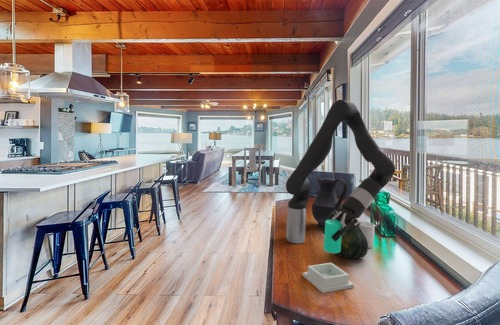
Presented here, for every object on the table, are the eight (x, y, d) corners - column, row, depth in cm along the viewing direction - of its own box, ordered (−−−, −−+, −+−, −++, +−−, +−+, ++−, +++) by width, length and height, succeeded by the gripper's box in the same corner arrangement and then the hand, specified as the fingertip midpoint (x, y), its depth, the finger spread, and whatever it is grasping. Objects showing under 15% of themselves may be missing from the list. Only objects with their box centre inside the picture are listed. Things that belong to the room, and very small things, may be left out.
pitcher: (322, 221, 185) (325, 174, 182) (352, 230, 169) (355, 179, 167) (305, 225, 174) (307, 176, 171) (334, 235, 158) (338, 181, 156)
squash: (321, 241, 133) (343, 222, 124) (340, 236, 142) (361, 218, 134) (340, 269, 125) (364, 251, 117) (358, 262, 135) (381, 245, 127)
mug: (373, 250, 139) (375, 227, 138) (354, 247, 142) (355, 224, 141) (372, 242, 150) (373, 221, 149) (354, 239, 153) (355, 218, 152)
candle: (327, 245, 110) (329, 214, 109) (343, 249, 106) (345, 217, 105) (320, 250, 105) (322, 217, 104) (336, 254, 101) (338, 221, 100)
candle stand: (302, 275, 110) (303, 264, 109) (331, 271, 114) (331, 260, 114) (322, 293, 98) (323, 281, 97) (353, 287, 102) (354, 275, 102)
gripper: (339, 192, 113) (311, 224, 110) (366, 200, 100) (335, 237, 97) (349, 204, 116) (322, 236, 112) (377, 214, 102) (347, 250, 99)
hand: (328, 236), depth 104 cm, fingers closed on candle, 5 cm apart
